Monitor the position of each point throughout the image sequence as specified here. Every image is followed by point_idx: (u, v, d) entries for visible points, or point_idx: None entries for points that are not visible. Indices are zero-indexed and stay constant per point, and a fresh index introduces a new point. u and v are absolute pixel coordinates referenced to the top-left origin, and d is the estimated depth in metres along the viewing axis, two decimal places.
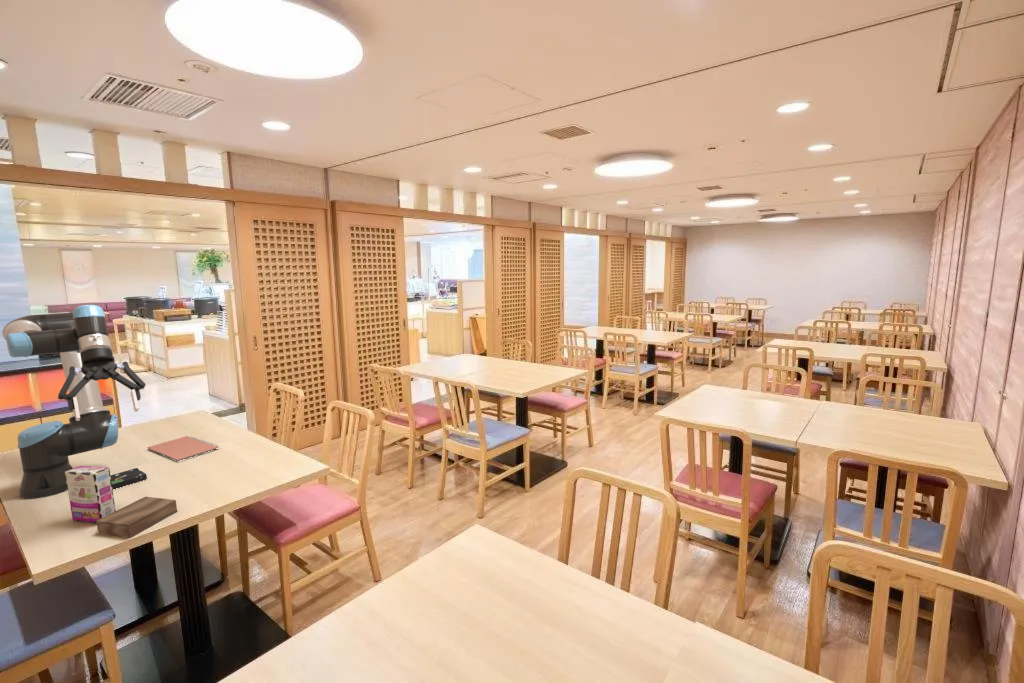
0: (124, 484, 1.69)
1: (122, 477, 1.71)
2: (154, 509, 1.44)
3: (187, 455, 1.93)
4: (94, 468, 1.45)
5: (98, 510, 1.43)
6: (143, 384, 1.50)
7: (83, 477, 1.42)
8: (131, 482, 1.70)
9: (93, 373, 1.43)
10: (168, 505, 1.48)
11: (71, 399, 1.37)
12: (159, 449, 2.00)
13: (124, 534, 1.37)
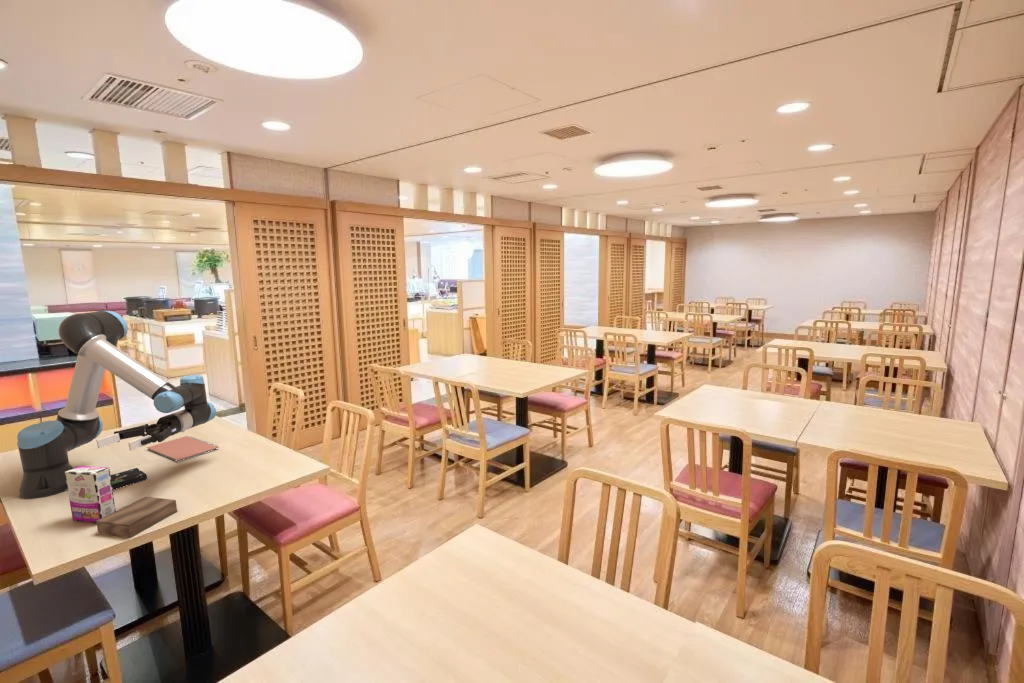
0: (124, 484, 1.69)
1: (122, 477, 1.71)
2: (154, 509, 1.44)
3: (187, 455, 1.93)
4: (94, 468, 1.45)
5: (98, 510, 1.43)
6: None
7: (83, 477, 1.42)
8: (131, 482, 1.70)
9: None
10: (168, 505, 1.48)
11: None
12: (159, 449, 2.00)
13: (124, 534, 1.37)
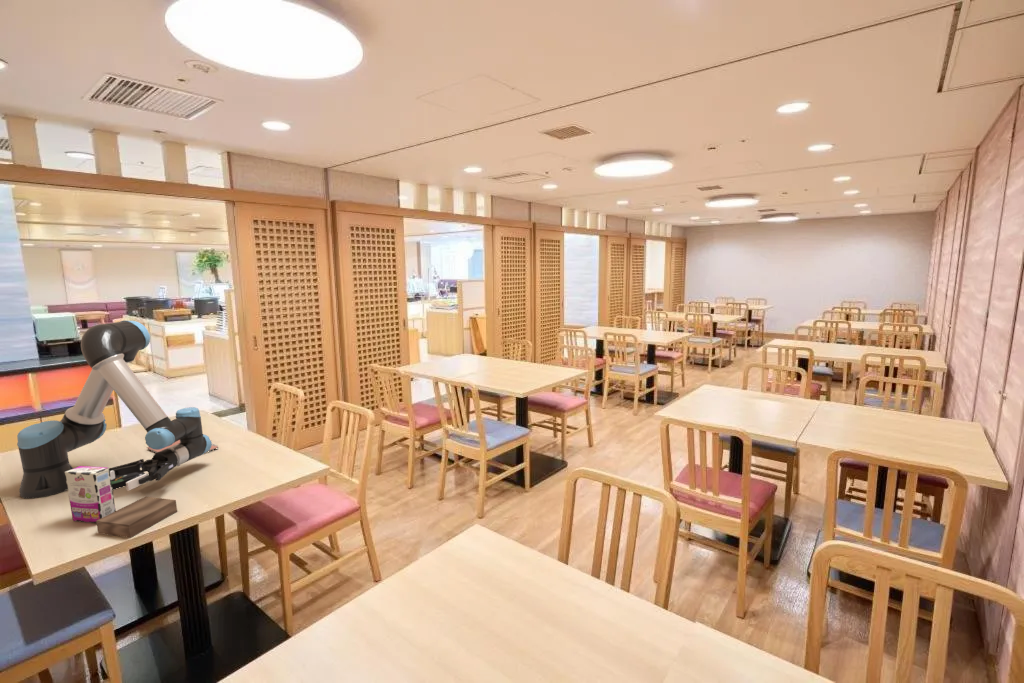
0: (124, 484, 1.69)
1: (122, 477, 1.71)
2: (154, 509, 1.44)
3: None
4: (94, 468, 1.45)
5: (98, 510, 1.43)
6: None
7: (83, 477, 1.42)
8: None
9: None
10: (168, 505, 1.48)
11: None
12: (159, 449, 2.00)
13: (124, 534, 1.37)
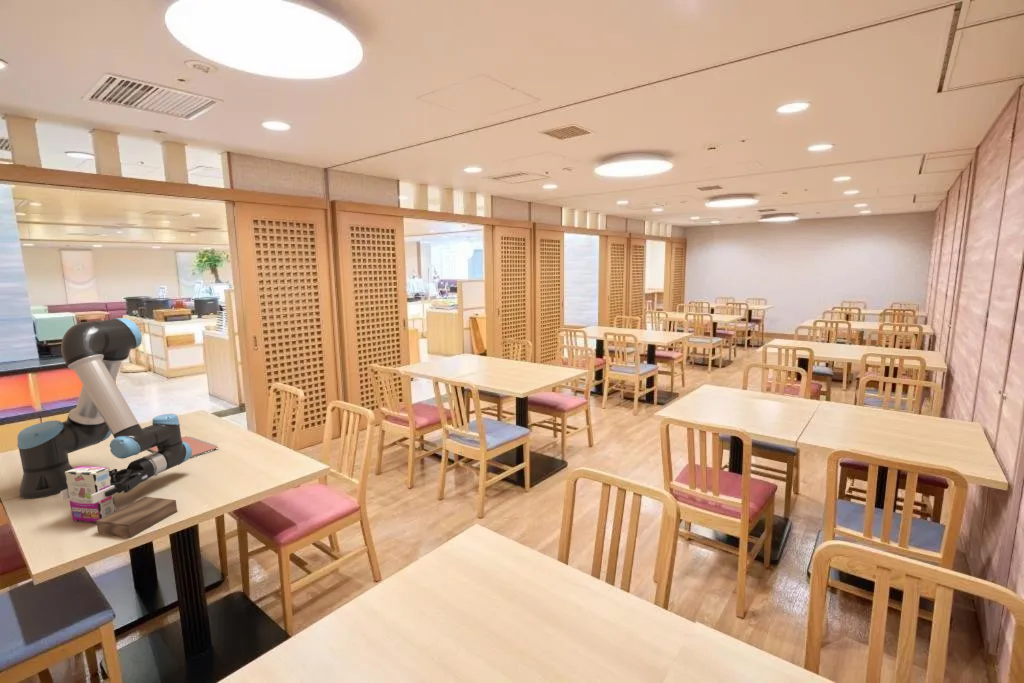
0: None
1: None
2: (154, 509, 1.44)
3: None
4: (94, 468, 1.45)
5: (98, 510, 1.43)
6: None
7: (83, 477, 1.42)
8: None
9: None
10: (168, 505, 1.48)
11: None
12: None
13: (124, 534, 1.37)
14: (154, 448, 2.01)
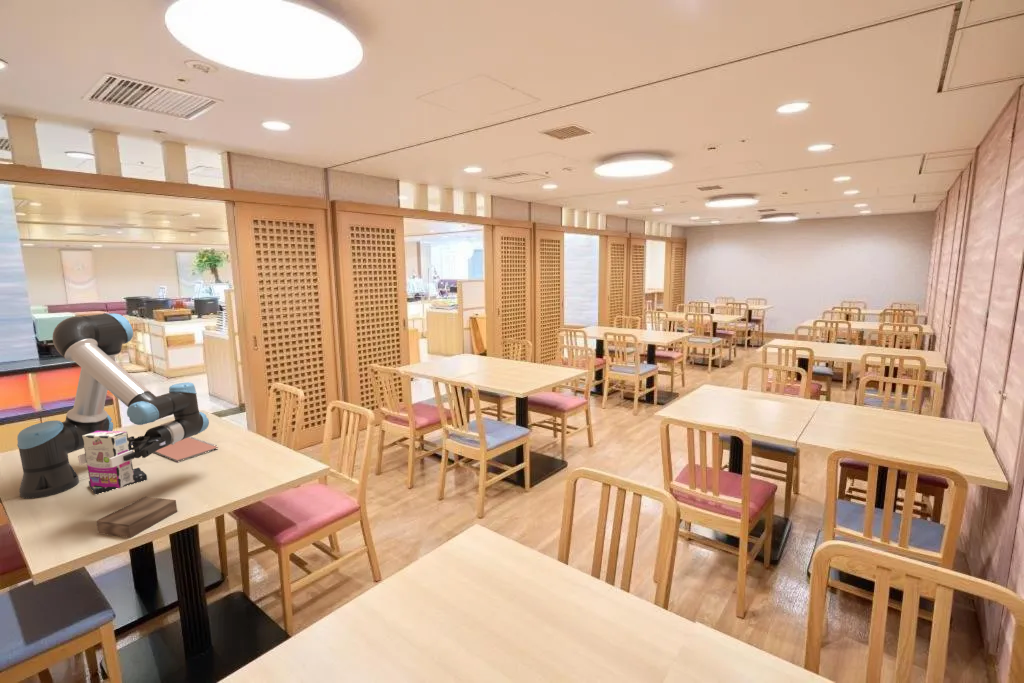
0: None
1: None
2: (154, 509, 1.44)
3: (187, 455, 1.93)
4: (112, 432, 1.42)
5: (117, 474, 1.40)
6: None
7: (101, 440, 1.39)
8: None
9: None
10: (168, 505, 1.48)
11: None
12: None
13: (124, 534, 1.37)
14: None
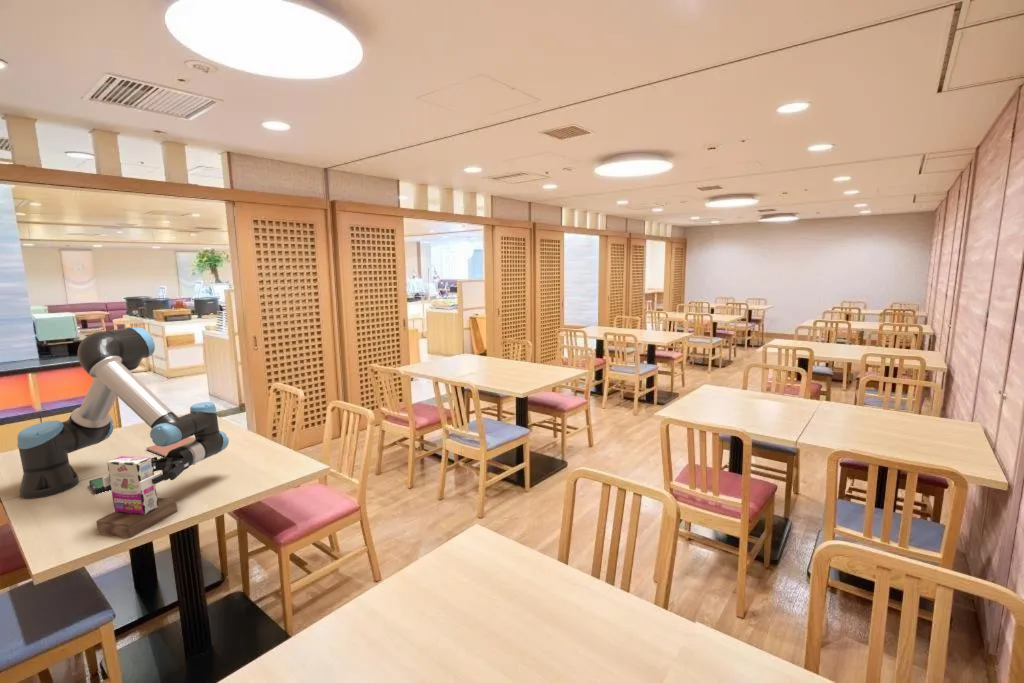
0: None
1: None
2: None
3: None
4: (136, 458, 1.42)
5: (141, 501, 1.40)
6: None
7: (126, 467, 1.39)
8: None
9: None
10: (168, 505, 1.48)
11: None
12: (158, 449, 2.00)
13: (124, 534, 1.37)
14: (154, 448, 2.01)
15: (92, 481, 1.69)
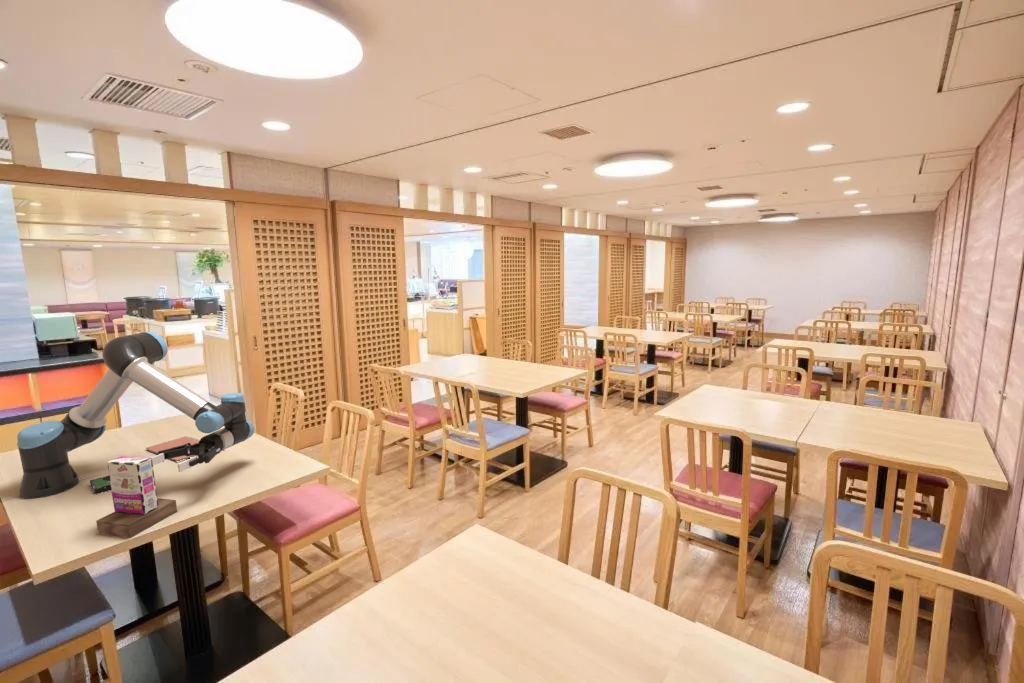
0: None
1: None
2: None
3: None
4: (136, 458, 1.42)
5: (142, 501, 1.40)
6: None
7: (126, 467, 1.39)
8: None
9: None
10: (168, 505, 1.48)
11: None
12: (158, 450, 2.00)
13: (124, 534, 1.37)
14: (153, 448, 2.01)
15: (92, 480, 1.69)
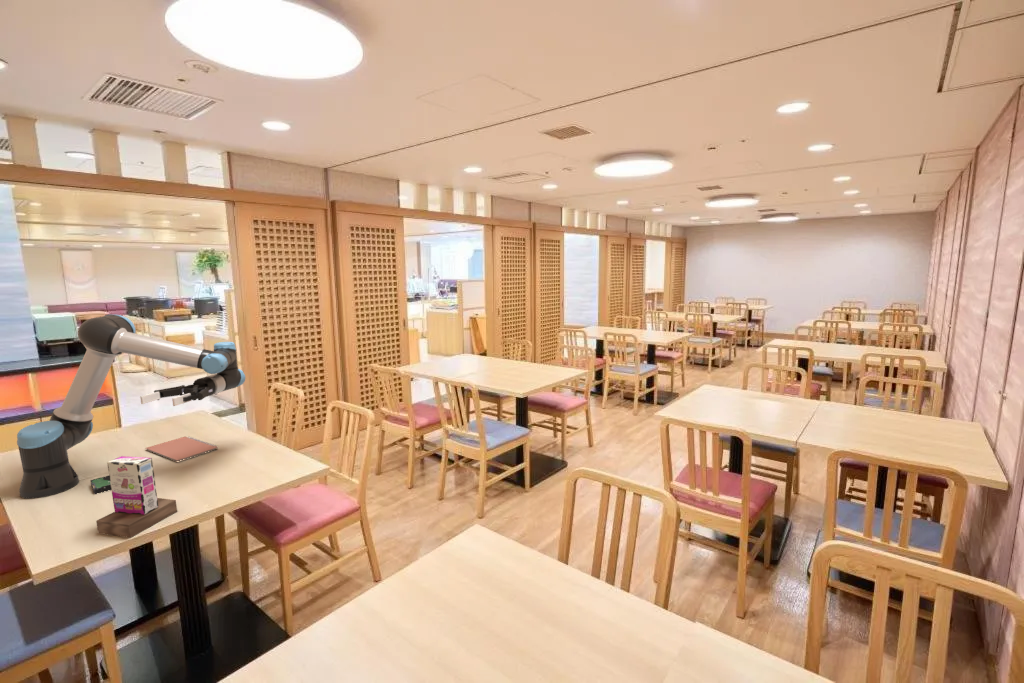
0: None
1: None
2: None
3: (186, 455, 1.93)
4: (137, 458, 1.42)
5: (142, 501, 1.40)
6: None
7: (126, 467, 1.39)
8: None
9: None
10: (168, 505, 1.48)
11: None
12: (158, 450, 2.00)
13: (124, 534, 1.37)
14: (153, 448, 2.01)
15: (93, 480, 1.69)
